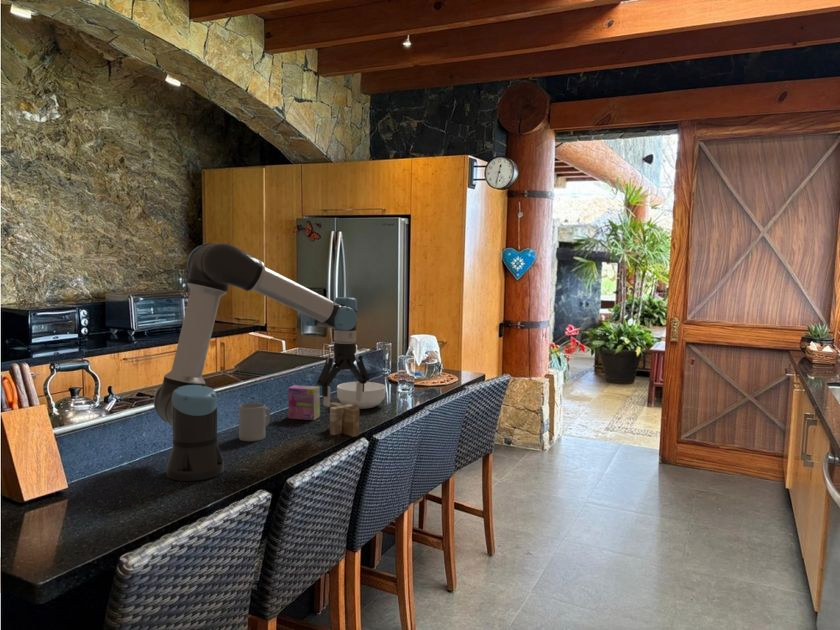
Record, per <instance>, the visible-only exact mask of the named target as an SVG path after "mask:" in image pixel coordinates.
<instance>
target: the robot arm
mask: <svg viewBox="0 0 840 630" xmlns="http://www.w3.org/2000/svg"><path fill="white" fill-rule="evenodd" d="M187 257H188V258H187V261H186V262H187V263H186V266H187V268H186V269H187V271H188V277H187V281H186V285H187V287H188V289H189V290H190V293H189V296H188V301H187V305H186V309H185V312H184V317H183V321H182V326H181V328H180V334H179V337H178V342H177V345H176V350H175V355H174V358H173V364H172V366H171V369H170V371H169V372H167V373H166V374H164V375H163V380H162V385H161V386H159V388H158V389H157V390H156V392H155V394H154V397H153V406H154V410H155V412H156V414H157V415H158V416H159V417H160V419H161V420H162V421H164V422H166V423H167V424H169V425H171V427H172V448H171V451H170V453H169V454H170V455H169V457H168V461H167V464H166V467H165V470H166V471H165V472H166V473H165V474H166V477H167V478H169V479H171V480H174V481H180V482H195V481H204V480H208V479H212V478H215V477H218V476H220V475H221V474H223V472H224V471H225V461H224V458H223V455H222V453H221V450H220V447H219V443H218V404H219V403H218V402H219V401H218V397H217V392H216V391H215V390H214V388H212V387H209V386H207V385H206V381H205V379H204V378H203V372H204V369H205V365H206V364H205V363H206V359H207V356H208V350H209V346H210V342H211V338H212V335H213V330H214V325H215V321H216V318H217V315H218V314H217V312H218V308H219V306H220V301H221V298H222V297H223V296H225V295H226V294H227V293H228V290H229V287H230V286H232V287H235V288H239V289H241V290H244V291H246V292H250V291H254V292H256V293H259V294H260V295H263V296H265V297H267V298H269V299H271V300H274V301H275V302H278V303H280V304H282V305H283V306H286V307H288V308H291V309H293V310H294V311H297V312H298V313H300V319H301V321H302V323H303V325H304V326H306V327H313V328H314V327H322V328H323V327H324V328H328V329H334V331H333V333H334V334H333V341H334V343H333V355H334V356H333V357H329V356H326V357H325V363H324V366H323V368H322V371H321V373H320V375H319V377H318V380H317V382H316V385H318V386H319V387H321V396H322V397H323V403H322V404H323V406H325V407H328V408H330V403H331V387H330V384H332V381H333V380H334V378H335V377H336V376H337V374H338V373H339V372H341V371H344V370H350V372H351V373H352V374H353V376H354V377H355V378H356V380H357V381H356V382H357V383H356V401H358V402H362V393H363V392H364V383H366V382H370V377H369V375H368V372H367V369H366V366H365V364H364V361H363V355H361V354H356V351H357V350H356V349H357V344H356V343H355V342H356V341H357V319H358V317H357V316H358V301H357V298H355V297H347V296H338V297H335V299H334V301H333V300H331V299H330V298H327V297H326V296H324V295H321V294H320V293H317V292H316V291H313V290H312V289H310V288H308V287H306V286H303V284H300V283H298V282H296V281H294V280H292V279H290V278H288V277H286V276H284V275H283V274H280V273H278V272H276V271H274V270H273V269H270V268H268V267H266V266H265V264H264V262H263V261H262V260H260V259H258V258H256V257H255V256H253V255H251V254H250V253H247V252H245V251H244V250H243V249H240V248H239V247H237V246H235V245H232V244H229V243H222V242H221V243H211V242H210V243H208V242H207V243H203V244H201V245H198V246H197V247H195V248H194V249H193V250H192V251H190V253H189V255H188V256H187ZM355 354H356V355H355ZM355 363H356V365H355Z"/></svg>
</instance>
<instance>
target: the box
mask: <svg viewBox="0 0 840 630" xmlns="http://www.w3.org/2000/svg"><path fill="white" fill-rule="evenodd" d="M287 392H288V393H287V395H288V399H287V400H288V403H287V404H288V405H287V406H288V419H290V420H291V419H293V420H307V421H308V420H309V421H316V420H318V418H320V417H321V415H320V414H321V413H320V412H321V400H320V398H321V393H320V392H321V386H314V385H313V386H312V385H299V384H297V385H296V384H293V385H291V386H289V387H288V391H287Z"/></svg>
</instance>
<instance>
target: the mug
mask: <svg viewBox="0 0 840 630" xmlns="http://www.w3.org/2000/svg"><path fill="white" fill-rule="evenodd" d="M270 420H271V412H270V409H269V407H268V406H266V404H265V403H261V402H246V403H245V402H244V403H241V404H239V406H238V438H239V440H240V441H243V442H259V441H263V440H264V439H266V427H267V426H268V425H269V424H270Z"/></svg>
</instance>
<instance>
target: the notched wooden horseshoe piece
mask: <svg viewBox="0 0 840 630" xmlns="http://www.w3.org/2000/svg"><path fill="white" fill-rule="evenodd" d="M346 407H353V408H356V409H358V405H357V404H349V405H344V404H343V406H337V407H331V408H330V407H329V433H330V435H333V436H337V435H341V434H343V433H342V420H344V408H346Z"/></svg>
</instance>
